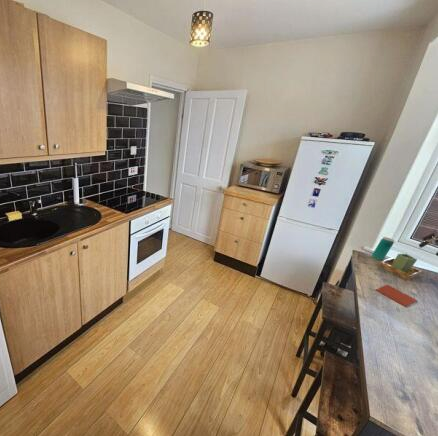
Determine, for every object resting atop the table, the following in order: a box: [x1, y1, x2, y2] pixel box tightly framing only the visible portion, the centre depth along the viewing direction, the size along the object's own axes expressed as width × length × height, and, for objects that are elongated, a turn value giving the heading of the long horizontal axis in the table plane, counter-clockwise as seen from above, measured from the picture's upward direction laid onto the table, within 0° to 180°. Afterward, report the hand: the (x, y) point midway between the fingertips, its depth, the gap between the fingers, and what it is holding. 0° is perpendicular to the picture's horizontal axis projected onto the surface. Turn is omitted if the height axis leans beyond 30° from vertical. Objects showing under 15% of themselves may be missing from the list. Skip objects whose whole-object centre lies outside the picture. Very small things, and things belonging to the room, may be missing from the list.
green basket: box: [391, 253, 418, 273], centre depth 136 cm, size 6×6×10 cm
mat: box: [375, 284, 418, 308], centre depth 118 cm, size 12×12×1 cm
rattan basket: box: [378, 257, 423, 281], centre depth 138 cm, size 14×14×4 cm
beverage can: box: [371, 236, 395, 262], centre depth 146 cm, size 6×6×15 cm
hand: (428, 250), depth 133 cm, fingers open, 8 cm apart
